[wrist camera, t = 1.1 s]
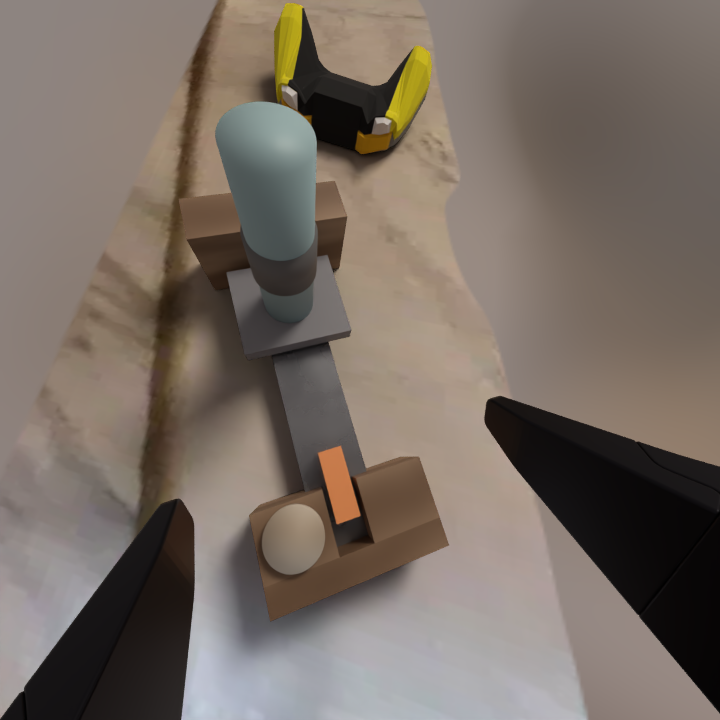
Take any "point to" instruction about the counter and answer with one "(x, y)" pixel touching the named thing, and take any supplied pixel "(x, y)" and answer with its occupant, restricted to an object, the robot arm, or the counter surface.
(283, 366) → the track
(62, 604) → the counter surface
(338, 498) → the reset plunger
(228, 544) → the counter surface
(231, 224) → the end cabinet
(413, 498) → the end cabinet
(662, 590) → the robot arm
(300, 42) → the gaming controller
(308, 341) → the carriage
